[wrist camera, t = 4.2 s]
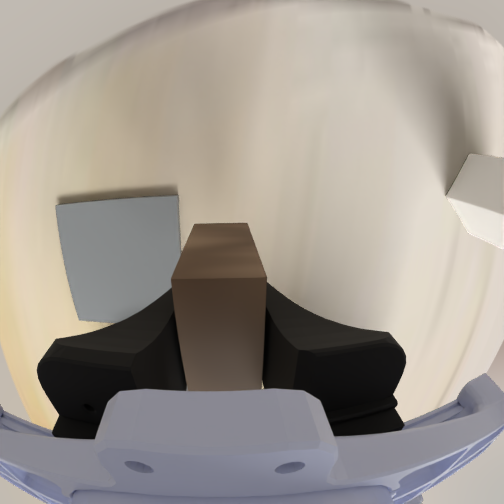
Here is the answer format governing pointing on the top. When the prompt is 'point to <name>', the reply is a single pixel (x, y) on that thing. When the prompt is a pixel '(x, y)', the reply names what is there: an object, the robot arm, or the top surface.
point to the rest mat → (119, 253)
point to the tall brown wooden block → (220, 308)
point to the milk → (480, 197)
